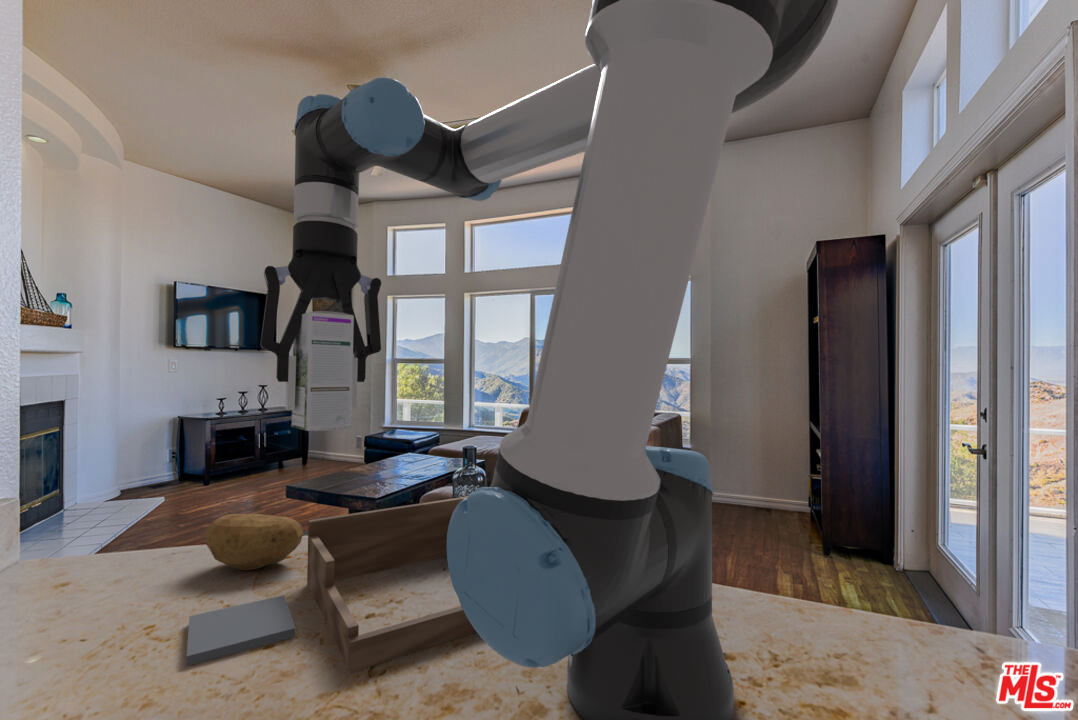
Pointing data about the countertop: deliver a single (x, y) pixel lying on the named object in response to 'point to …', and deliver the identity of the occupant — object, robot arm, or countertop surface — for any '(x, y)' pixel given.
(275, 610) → the slate mat
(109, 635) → the countertop surface
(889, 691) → the countertop surface
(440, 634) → the frame
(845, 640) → the countertop surface
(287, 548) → the potato
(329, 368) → the syrup box
